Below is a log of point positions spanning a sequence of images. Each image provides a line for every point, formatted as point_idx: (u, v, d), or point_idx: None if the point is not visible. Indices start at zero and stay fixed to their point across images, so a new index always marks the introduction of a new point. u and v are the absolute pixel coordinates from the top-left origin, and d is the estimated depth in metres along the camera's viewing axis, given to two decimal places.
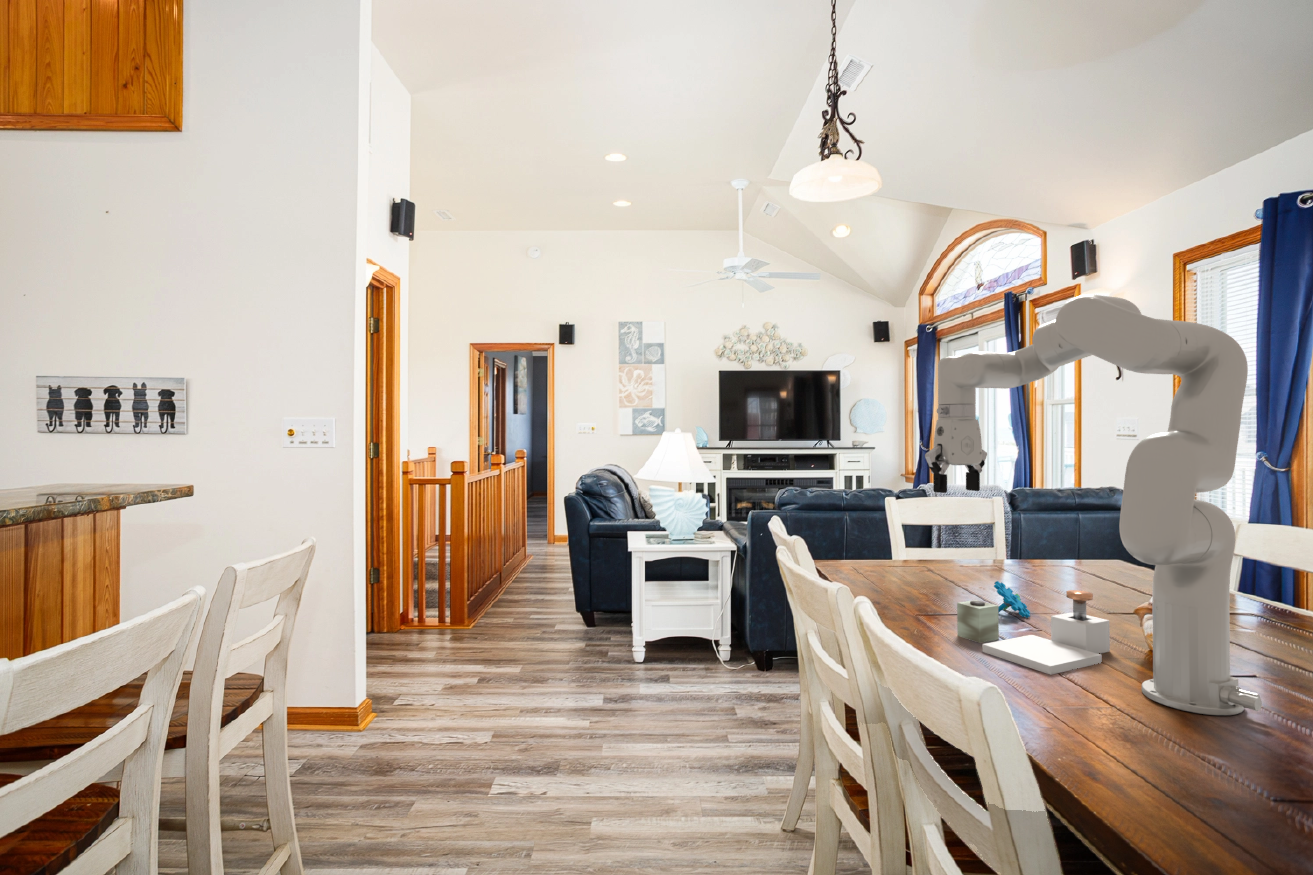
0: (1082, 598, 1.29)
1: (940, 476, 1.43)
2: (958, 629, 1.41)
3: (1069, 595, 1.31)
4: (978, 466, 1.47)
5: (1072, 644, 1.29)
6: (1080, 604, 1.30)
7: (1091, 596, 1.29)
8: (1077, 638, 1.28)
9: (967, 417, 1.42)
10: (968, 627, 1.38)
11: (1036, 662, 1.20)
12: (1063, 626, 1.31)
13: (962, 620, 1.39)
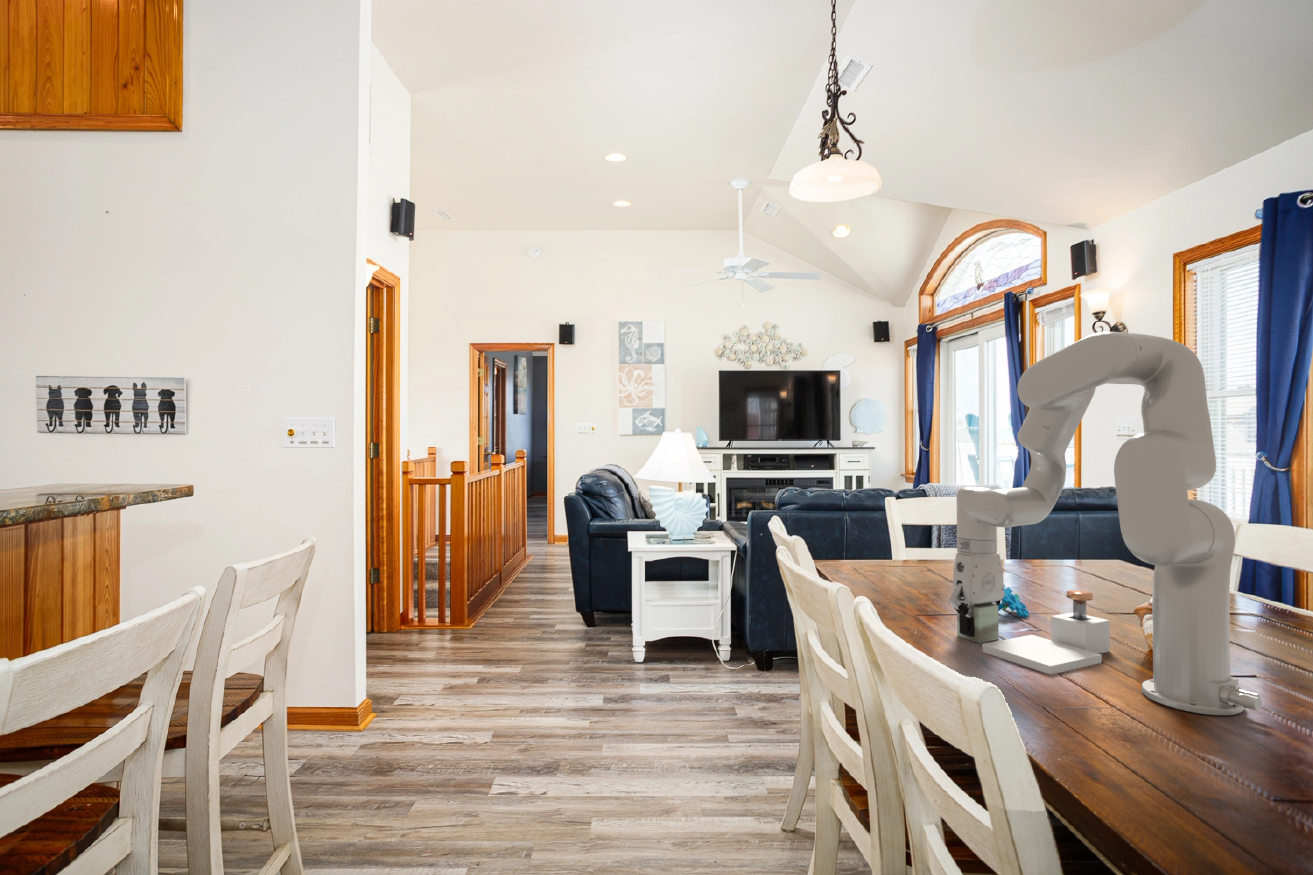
0: (1082, 598, 1.29)
1: (967, 619, 1.37)
2: (957, 628, 1.41)
3: (1069, 595, 1.31)
4: None
5: (1072, 644, 1.29)
6: (1080, 604, 1.30)
7: (1091, 596, 1.29)
8: (1077, 638, 1.28)
9: (988, 554, 1.36)
10: None
11: (1036, 662, 1.20)
12: (1063, 626, 1.31)
13: None
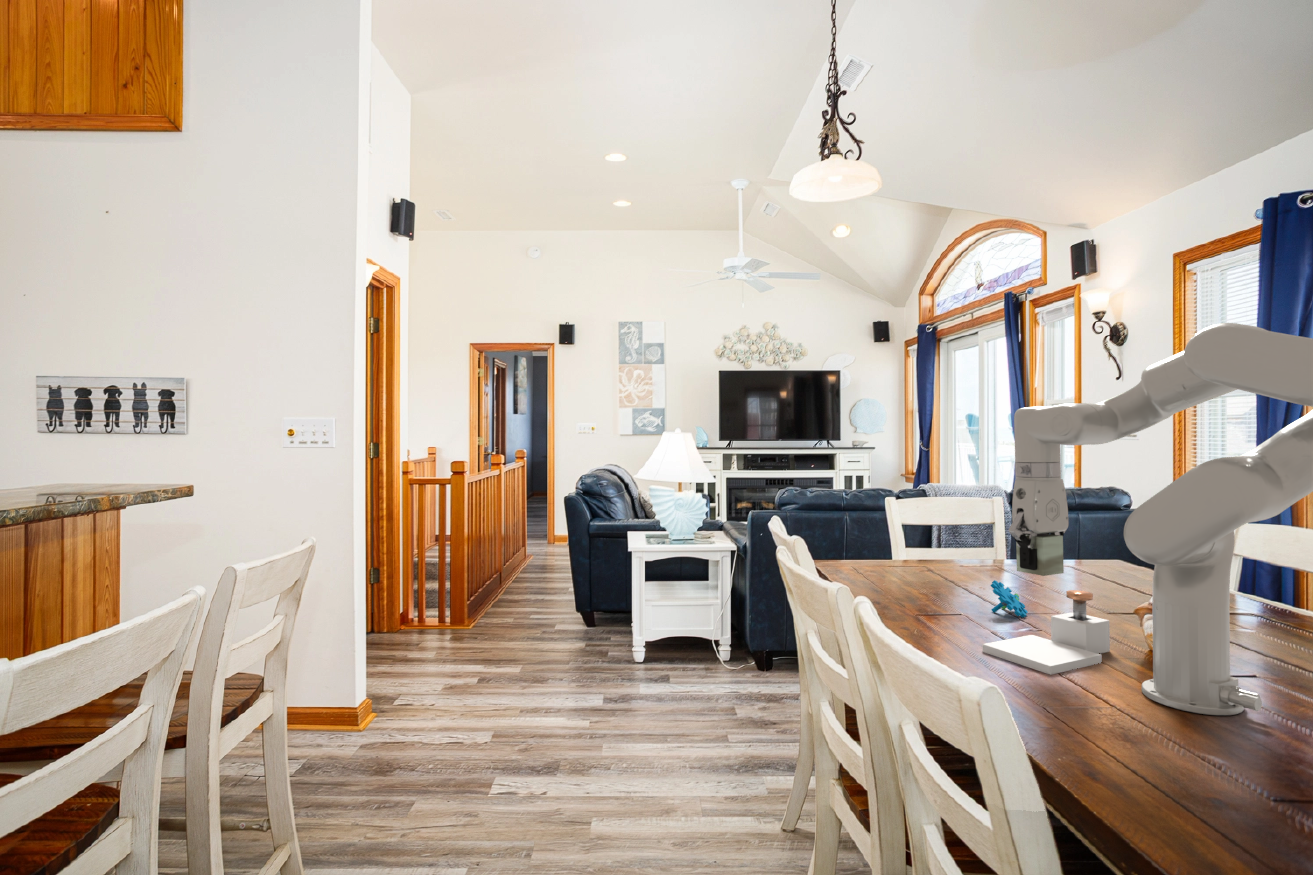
0: (1082, 598, 1.29)
1: (1029, 551, 1.24)
2: (1017, 563, 1.28)
3: (1069, 595, 1.31)
4: None
5: (1072, 644, 1.29)
6: (1080, 604, 1.30)
7: (1091, 596, 1.29)
8: (1077, 638, 1.28)
9: (1052, 478, 1.23)
10: None
11: (1036, 662, 1.20)
12: (1063, 626, 1.31)
13: None
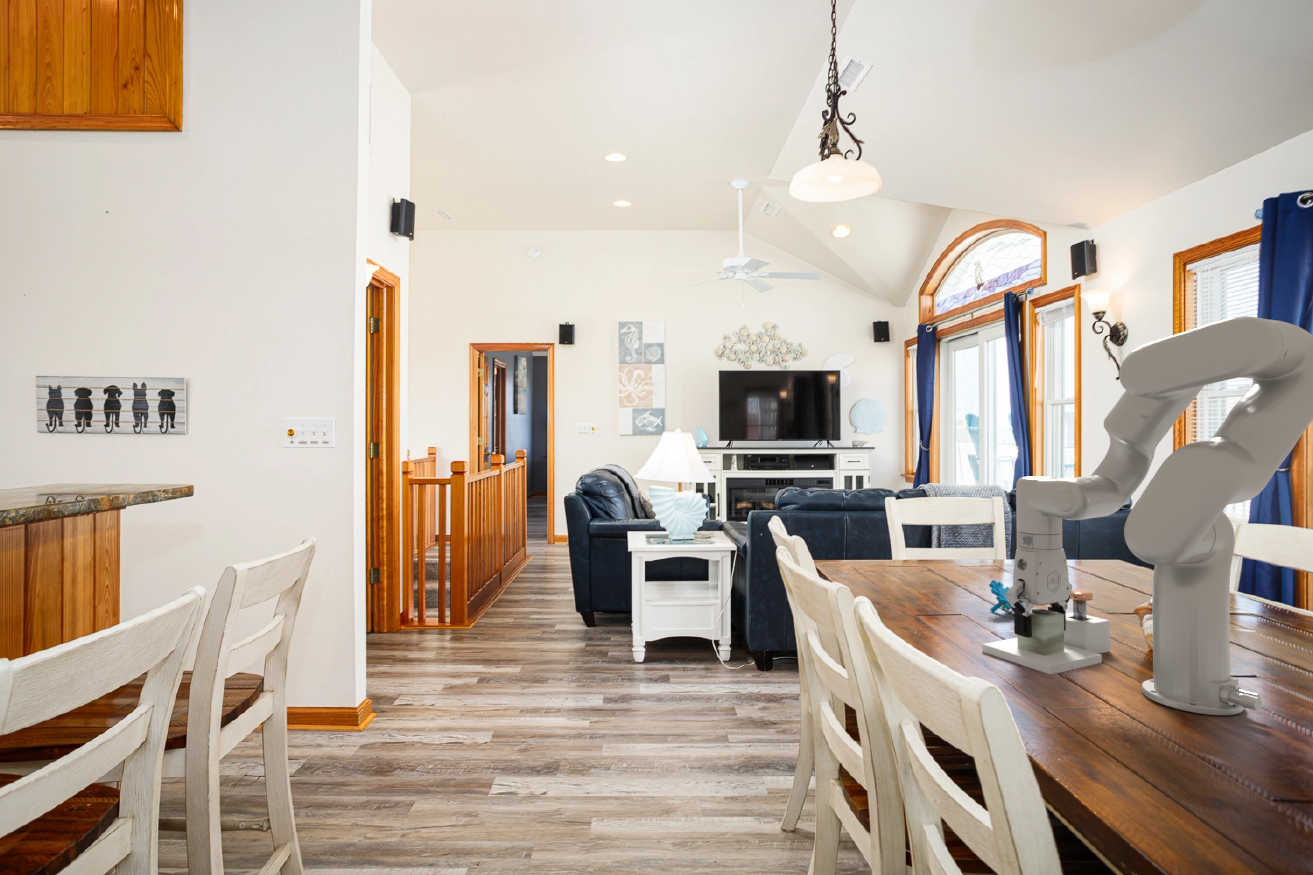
0: (1082, 598, 1.29)
1: (1023, 618, 1.24)
2: (1018, 639, 1.28)
3: None
4: (1063, 602, 1.27)
5: (1072, 644, 1.29)
6: (1080, 604, 1.30)
7: (1091, 596, 1.29)
8: (1077, 638, 1.28)
9: (1054, 550, 1.23)
10: (1030, 638, 1.25)
11: (1036, 662, 1.20)
12: None
13: None
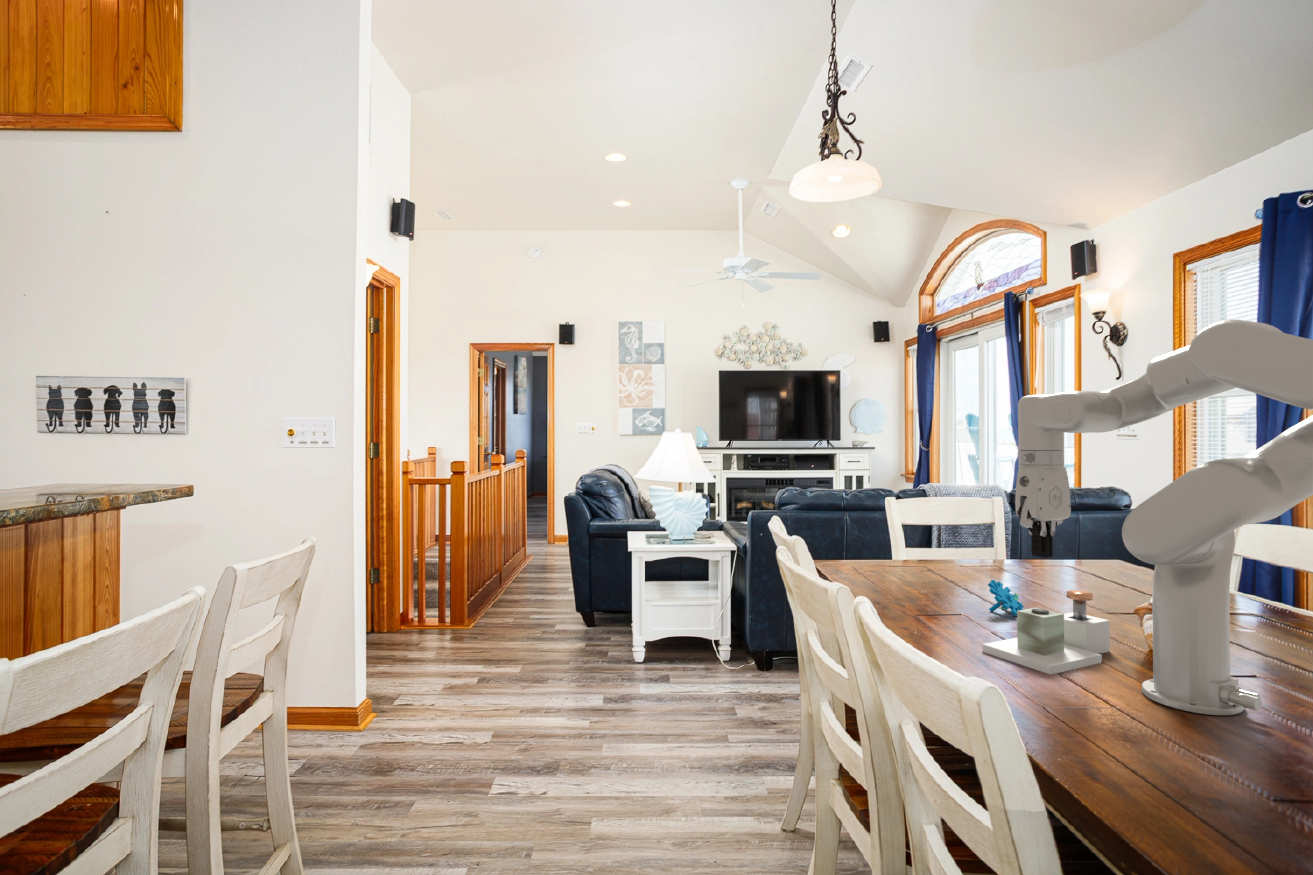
0: (1082, 598, 1.29)
1: (1041, 538, 1.26)
2: (1018, 639, 1.28)
3: (1069, 595, 1.31)
4: (1053, 527, 1.26)
5: (1072, 644, 1.29)
6: (1080, 604, 1.30)
7: (1091, 596, 1.29)
8: (1077, 638, 1.28)
9: (1056, 465, 1.23)
10: (1030, 638, 1.25)
11: (1036, 662, 1.20)
12: None
13: (1023, 630, 1.27)
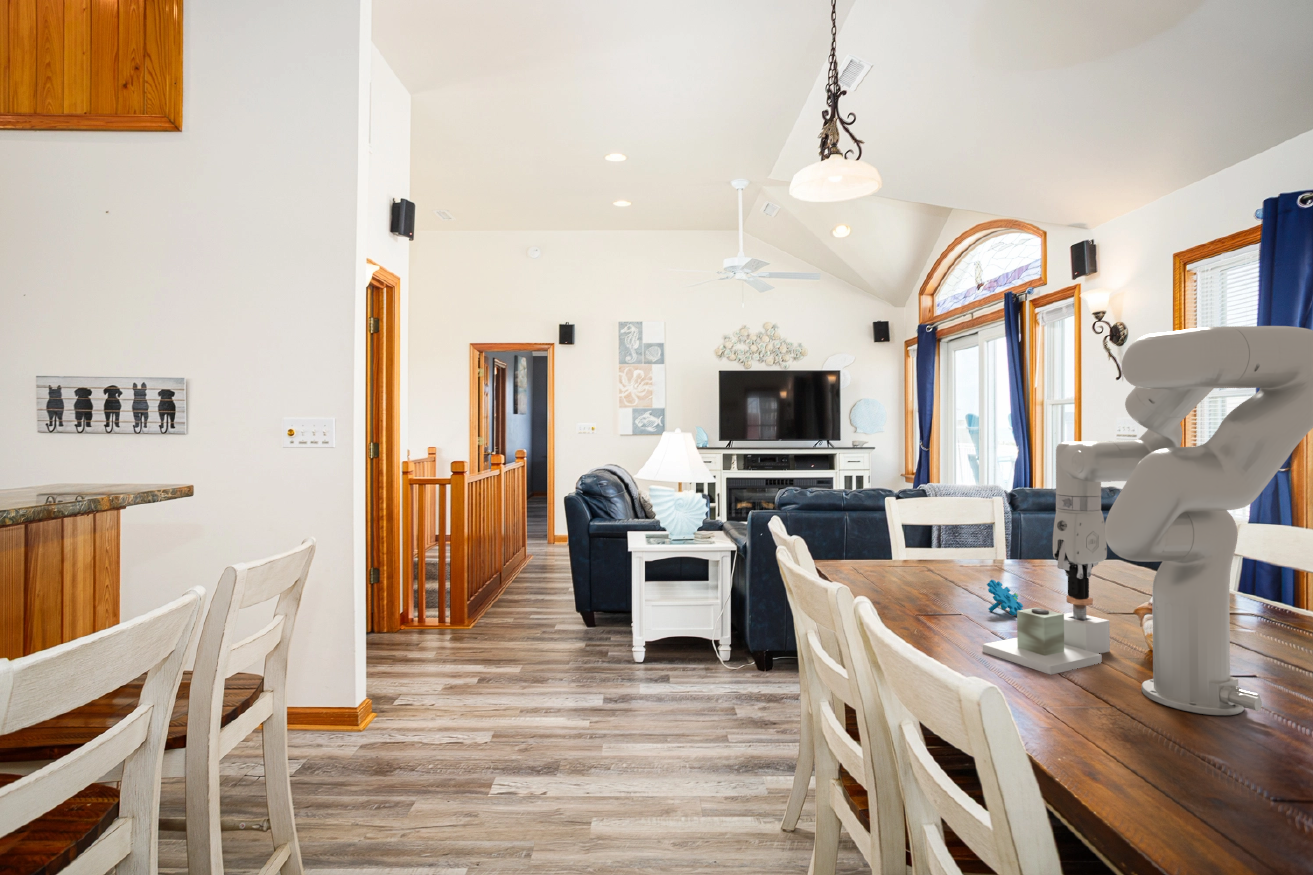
0: (1082, 603, 1.29)
1: (1077, 580, 1.30)
2: (1018, 639, 1.28)
3: (1069, 600, 1.31)
4: (1089, 569, 1.31)
5: (1072, 644, 1.29)
6: (1080, 609, 1.30)
7: (1091, 601, 1.29)
8: (1077, 638, 1.28)
9: (1093, 511, 1.28)
10: (1030, 638, 1.25)
11: (1036, 662, 1.20)
12: None
13: (1023, 630, 1.27)
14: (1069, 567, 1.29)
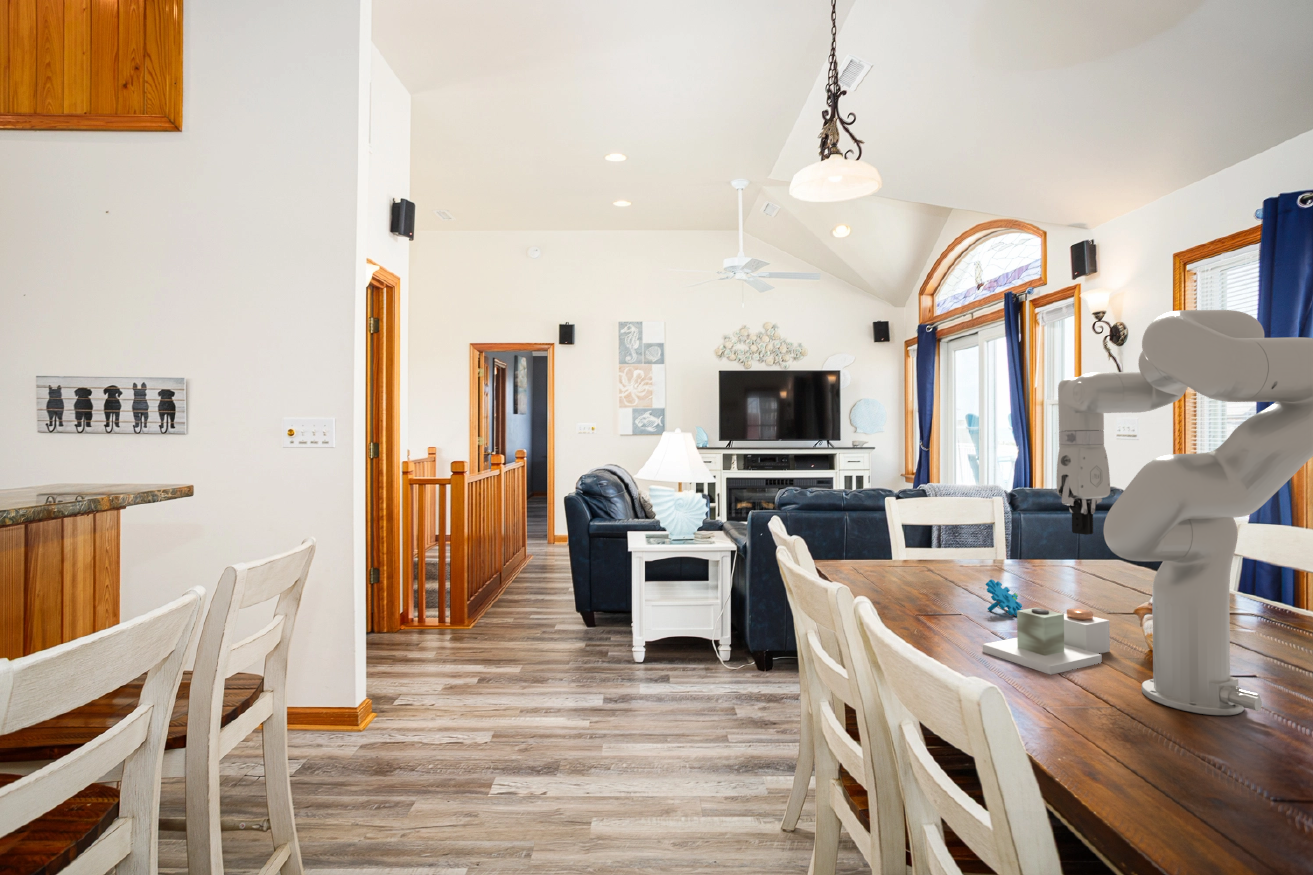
0: (1082, 617, 1.29)
1: (1082, 516, 1.30)
2: (1018, 639, 1.28)
3: (1069, 614, 1.31)
4: (1093, 505, 1.31)
5: (1072, 644, 1.29)
6: None
7: (1091, 615, 1.29)
8: (1077, 638, 1.28)
9: (1097, 445, 1.28)
10: (1030, 638, 1.25)
11: (1036, 662, 1.20)
12: None
13: (1023, 630, 1.27)
14: (1073, 502, 1.29)
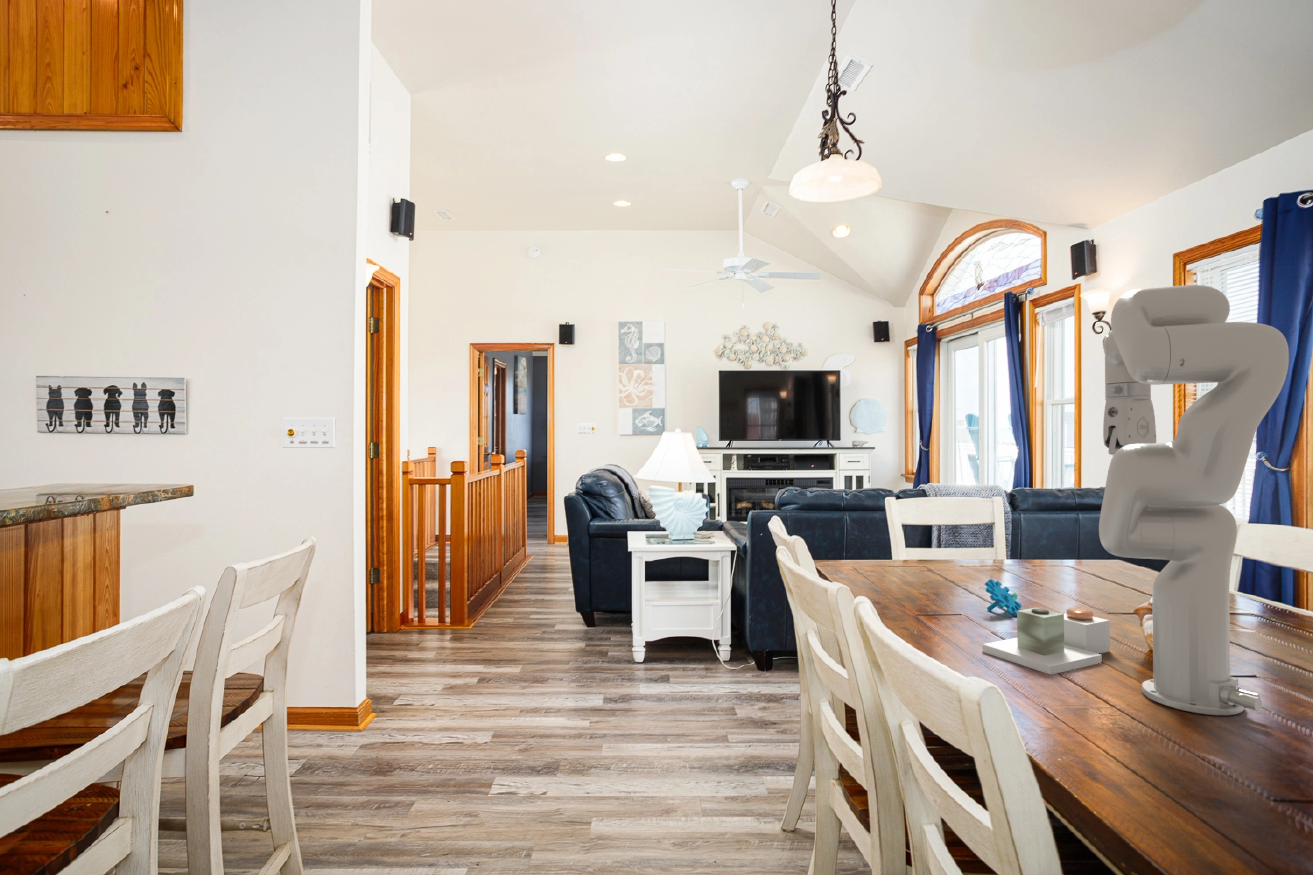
0: (1082, 617, 1.29)
1: None
2: (1018, 639, 1.28)
3: (1069, 614, 1.31)
4: None
5: (1072, 644, 1.29)
6: None
7: (1091, 615, 1.29)
8: (1077, 638, 1.28)
9: (1144, 396, 1.31)
10: (1030, 638, 1.25)
11: (1036, 662, 1.20)
12: None
13: (1023, 630, 1.27)
14: None
